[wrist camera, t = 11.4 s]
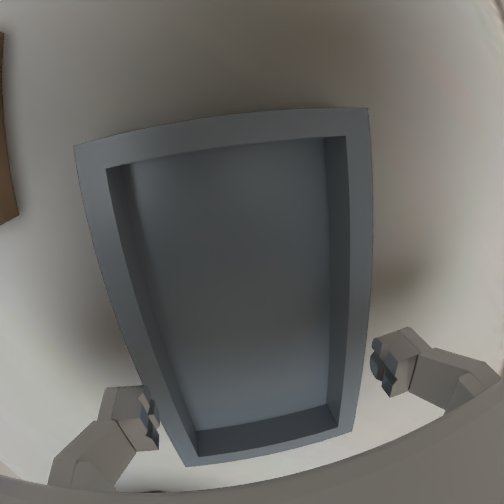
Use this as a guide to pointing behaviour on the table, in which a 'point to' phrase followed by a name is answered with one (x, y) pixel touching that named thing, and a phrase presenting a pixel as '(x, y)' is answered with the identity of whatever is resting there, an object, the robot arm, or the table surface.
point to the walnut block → (5, 163)
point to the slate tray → (239, 272)
